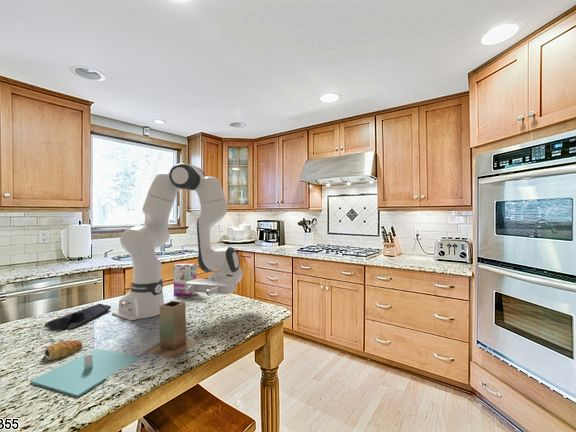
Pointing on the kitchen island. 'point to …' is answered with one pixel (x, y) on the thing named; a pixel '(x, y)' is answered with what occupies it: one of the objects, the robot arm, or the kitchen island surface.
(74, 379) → the teal hub plate
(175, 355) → the walnut stand
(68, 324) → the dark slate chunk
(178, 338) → the bronze sleeve
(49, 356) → the pastry
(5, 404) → the kitchen island surface
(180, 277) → the candy bar box
